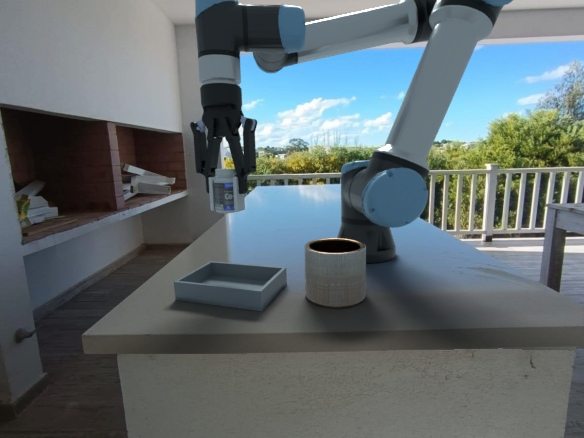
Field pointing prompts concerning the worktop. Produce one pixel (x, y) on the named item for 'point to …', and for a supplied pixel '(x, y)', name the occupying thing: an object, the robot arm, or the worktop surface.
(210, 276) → the grey tray
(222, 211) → the pill bottle
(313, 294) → the planter
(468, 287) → the worktop surface
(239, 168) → the robot arm
